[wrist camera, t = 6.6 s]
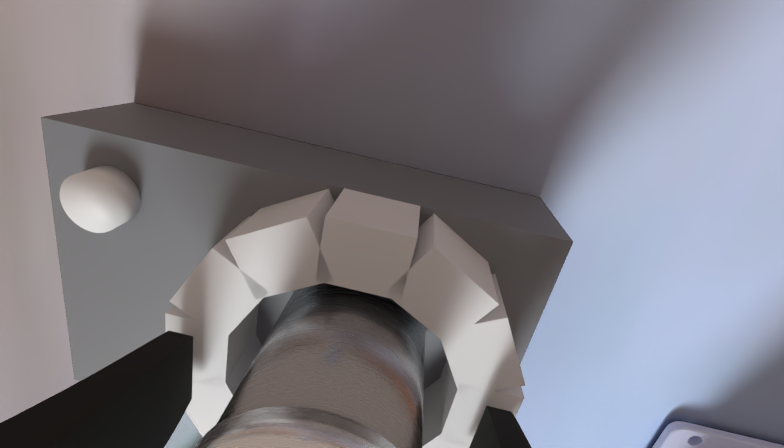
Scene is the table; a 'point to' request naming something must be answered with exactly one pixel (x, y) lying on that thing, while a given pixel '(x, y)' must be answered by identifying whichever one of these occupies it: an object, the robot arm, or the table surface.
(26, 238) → the table surface
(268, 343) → the lens
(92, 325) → the camera body
